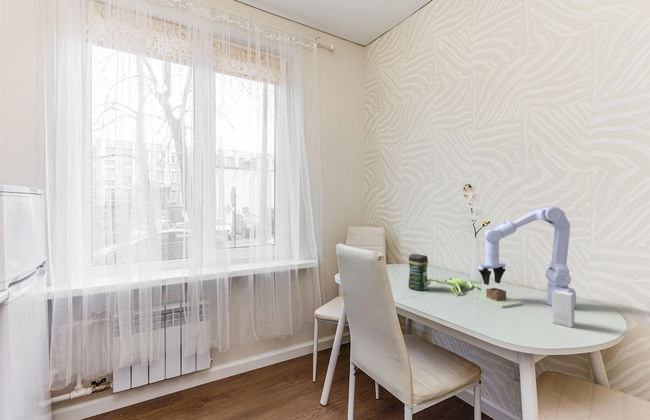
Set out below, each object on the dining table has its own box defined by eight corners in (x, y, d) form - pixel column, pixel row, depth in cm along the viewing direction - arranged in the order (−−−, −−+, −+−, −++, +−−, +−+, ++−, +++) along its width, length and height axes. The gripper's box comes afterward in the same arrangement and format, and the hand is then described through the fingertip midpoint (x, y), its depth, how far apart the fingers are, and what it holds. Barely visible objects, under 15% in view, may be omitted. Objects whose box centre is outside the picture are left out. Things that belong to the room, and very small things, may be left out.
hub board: (522, 304, 131) (522, 293, 131) (501, 308, 127) (501, 296, 127) (491, 294, 146) (491, 284, 146) (472, 296, 142) (472, 286, 142)
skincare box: (574, 324, 109) (575, 292, 109) (572, 328, 106) (572, 295, 106) (554, 319, 114) (554, 289, 114) (551, 322, 111) (551, 291, 111)
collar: (506, 299, 135) (506, 291, 135) (496, 301, 133) (496, 292, 133) (495, 296, 140) (495, 287, 140) (486, 297, 138) (486, 288, 138)
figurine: (422, 289, 157) (422, 279, 157) (451, 281, 171) (451, 272, 171) (453, 298, 141) (453, 287, 141) (483, 289, 156) (483, 278, 156)
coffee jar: (406, 288, 158) (405, 254, 157) (414, 285, 163) (414, 252, 162) (421, 292, 150) (421, 256, 150) (430, 289, 155) (430, 254, 155)
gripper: (496, 252, 144) (496, 280, 145) (473, 254, 140) (473, 282, 140) (509, 255, 138) (509, 283, 138) (485, 257, 133) (485, 286, 134)
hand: (491, 283), depth 139 cm, fingers open, 6 cm apart
